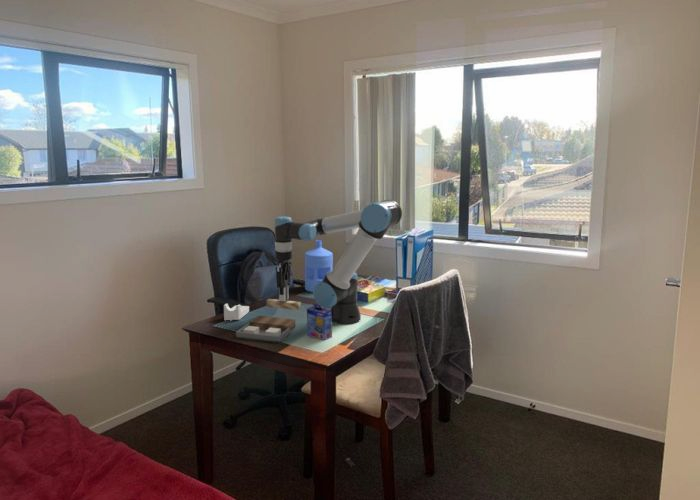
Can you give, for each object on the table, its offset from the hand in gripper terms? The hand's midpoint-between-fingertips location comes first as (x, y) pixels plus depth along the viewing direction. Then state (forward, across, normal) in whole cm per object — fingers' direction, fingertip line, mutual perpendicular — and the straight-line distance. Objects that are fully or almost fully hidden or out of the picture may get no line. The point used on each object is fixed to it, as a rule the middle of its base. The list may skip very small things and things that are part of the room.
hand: (283, 299), depth 250 cm
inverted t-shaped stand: (+4, 0, 0) cm, 4 cm away
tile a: (+9, +24, +5) cm, 26 cm away
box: (+9, +24, 0) cm, 25 cm away
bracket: (+10, +4, -22) cm, 25 cm away
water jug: (+9, -53, -1) cm, 54 cm away
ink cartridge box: (+9, +17, +23) cm, 30 cm away
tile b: (+9, +24, -5) cm, 26 cm away
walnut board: (+9, +14, 0) cm, 16 cm away
